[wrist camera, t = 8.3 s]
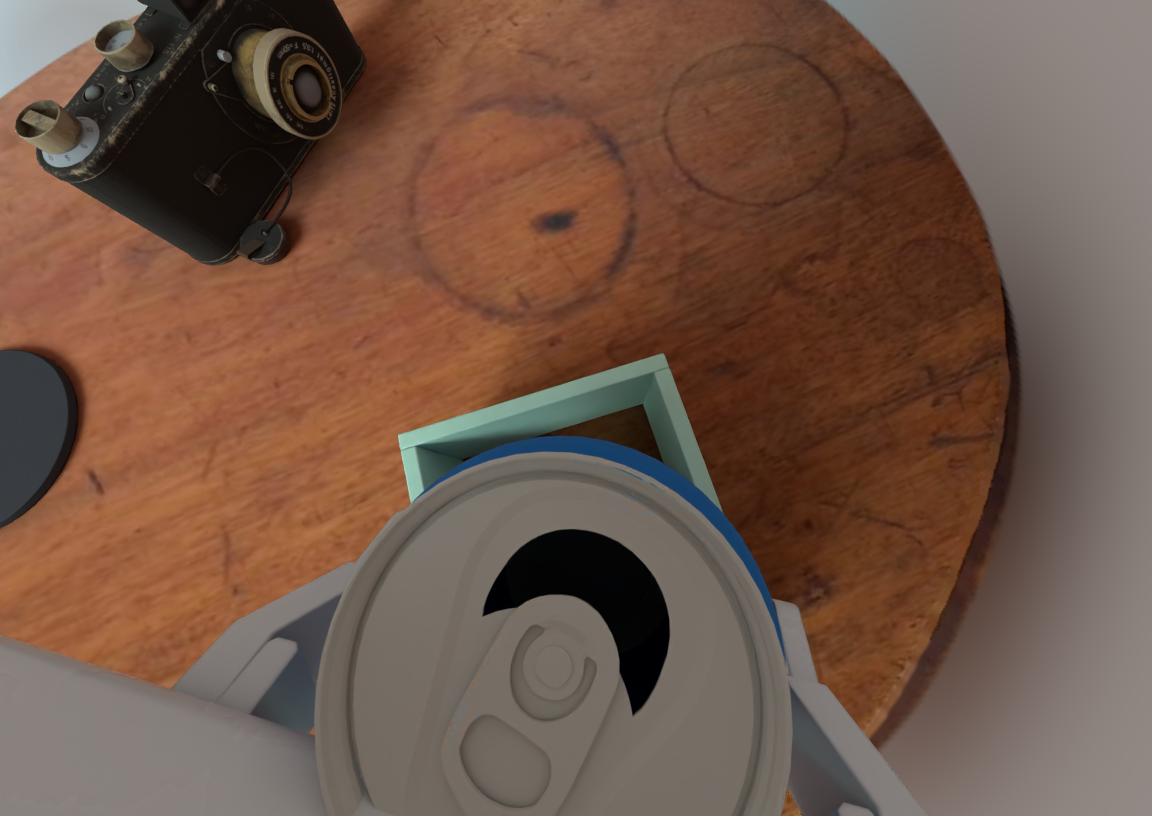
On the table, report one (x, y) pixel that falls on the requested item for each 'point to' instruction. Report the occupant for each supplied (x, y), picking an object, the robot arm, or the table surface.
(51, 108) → the camera
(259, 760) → the robot arm
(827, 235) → the table surface
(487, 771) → the beverage can
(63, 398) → the coaster
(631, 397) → the box frame
